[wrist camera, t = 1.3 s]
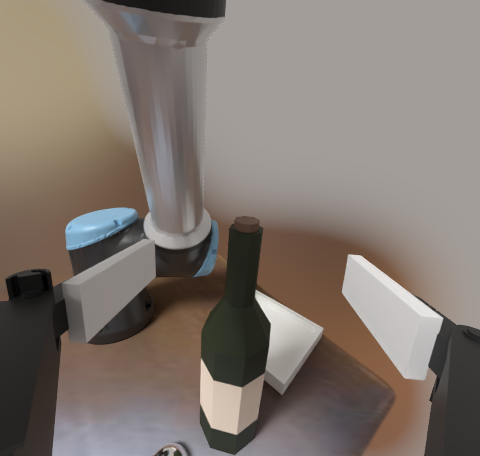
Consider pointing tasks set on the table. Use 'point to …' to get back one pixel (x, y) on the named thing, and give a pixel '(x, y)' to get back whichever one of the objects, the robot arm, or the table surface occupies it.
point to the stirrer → (171, 450)
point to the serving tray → (286, 342)
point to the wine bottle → (235, 347)
